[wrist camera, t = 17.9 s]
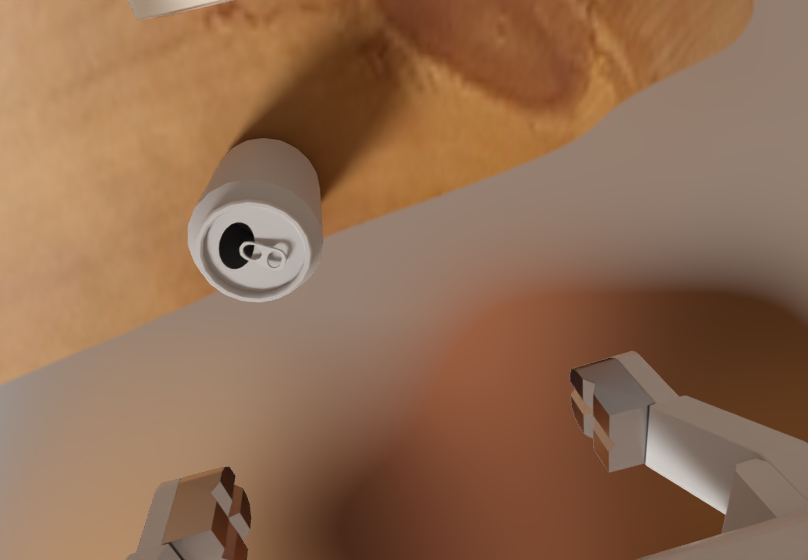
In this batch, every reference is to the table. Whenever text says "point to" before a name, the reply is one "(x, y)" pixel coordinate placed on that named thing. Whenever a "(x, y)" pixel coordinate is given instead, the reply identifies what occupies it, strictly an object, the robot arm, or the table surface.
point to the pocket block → (167, 7)
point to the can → (258, 222)
